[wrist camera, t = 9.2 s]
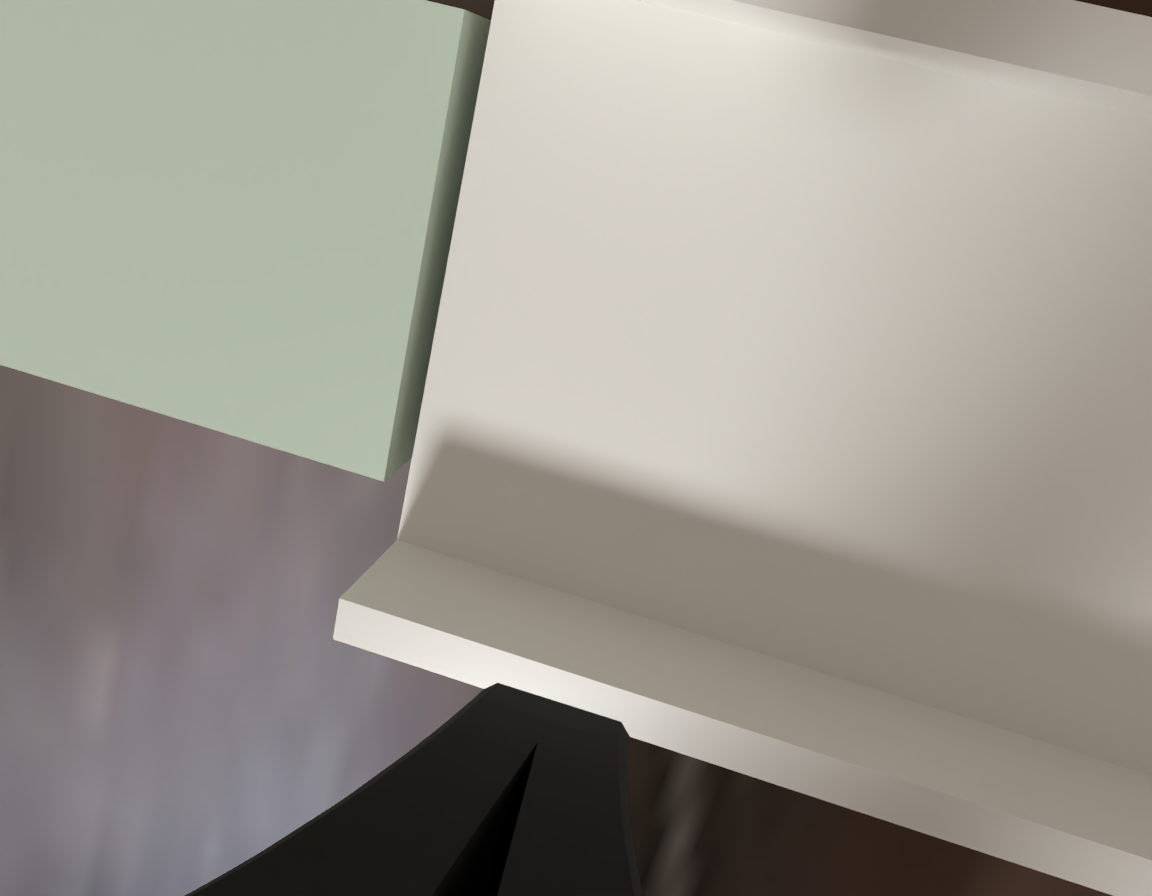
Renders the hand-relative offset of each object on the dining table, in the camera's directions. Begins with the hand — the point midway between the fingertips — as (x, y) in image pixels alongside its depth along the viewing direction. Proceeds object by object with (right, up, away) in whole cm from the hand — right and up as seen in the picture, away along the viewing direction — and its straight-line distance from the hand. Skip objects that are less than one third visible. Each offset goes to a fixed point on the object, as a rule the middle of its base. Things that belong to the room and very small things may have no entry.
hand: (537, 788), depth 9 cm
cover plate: (-7, +8, +9) cm, 14 cm away
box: (+8, +4, +7) cm, 11 cm away
